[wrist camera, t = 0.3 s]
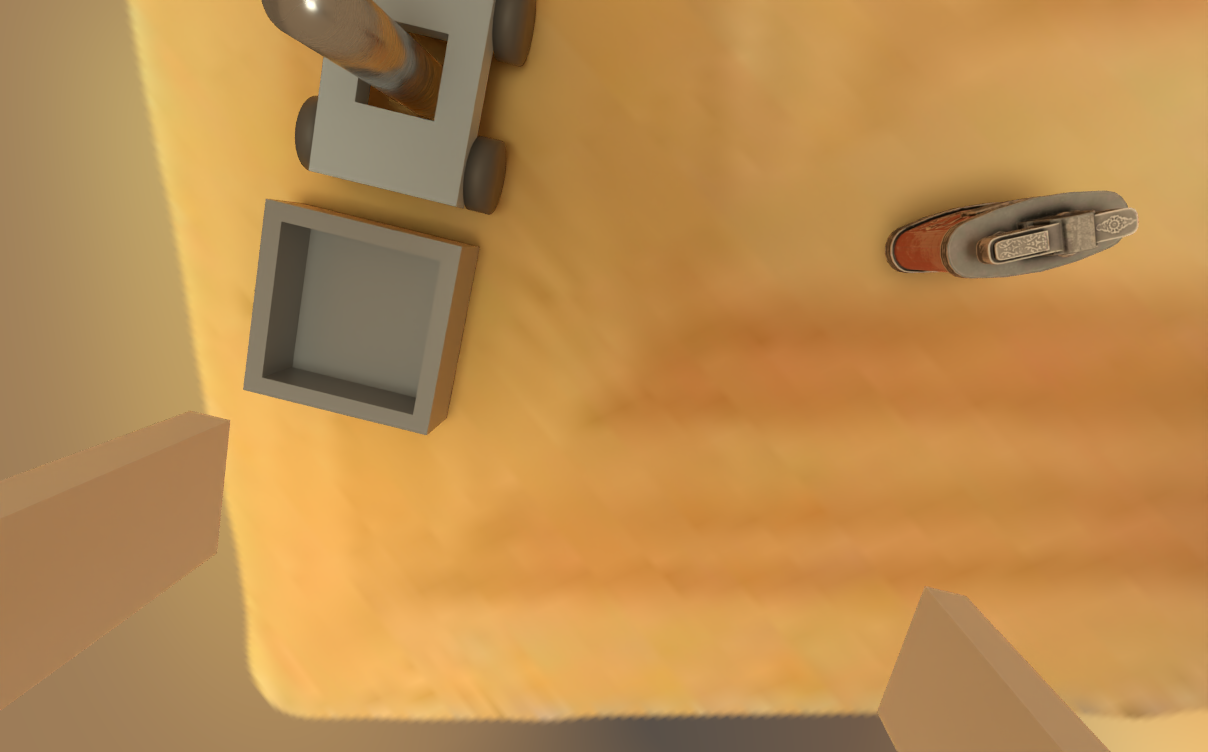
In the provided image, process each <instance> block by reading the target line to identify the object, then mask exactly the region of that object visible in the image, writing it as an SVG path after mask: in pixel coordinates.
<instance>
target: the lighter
mask: <svg viewBox="0 0 1208 752" xmlns="http://www.w3.org/2000/svg"><path fill="white" fill-rule="evenodd" d="M1138 223H1139V221H1138V214H1137V211H1136V210H1135V209H1134V208H1128V206H1127V204H1126V202H1125V201H1124V199H1123V198H1122V197H1121V196H1120V195H1118V194H1117V193H1115V192H1111V191H1088V192H1069V193H1061V194H1055V195H1048V196H1042V197H1041V196H1040V197H1032V198H1024V199H1018V200H1012V201H1006V202H997V203H985V204H978V205H972V206H966V207H959V208H953V209H949V210H946V211H943V212H940V213H936V214H933V215H930V216H926V217H923V218H921V219H919V220H916V221H914V222H912V223H910V224H907V225H905V226H903V227H900V228H898V229H897V230H895V231H894V232H892V233H891V235H890V236H889V238H888V239H887V242H886V245H885V255H886V259H887V262H888V263H889V264H890V266H891V267H892V268H893V269H895V270H897V271H899V272H905V273H924V272H949V273H951V274H952V275H954V276H956V277H962V278H994V277H1009V276H1016V275H1022V274H1029V273H1035V272H1041V271H1045V270H1048V269H1052V268H1055V267H1059V266H1062V265H1066V264H1069V263H1073V262H1076V261H1079V260H1081V259H1084V258H1086V257H1088V256H1091V255H1093V254H1096V253H1098V252H1101V251H1103V250H1106V249H1108V248H1110V247H1112V246H1114V245H1115V244H1117V243H1118V242H1119V241H1120V240H1121V239H1122V237H1125V236H1129V235H1132V234H1133V233H1134V232H1136V230H1137V228H1138Z"/></svg>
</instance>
